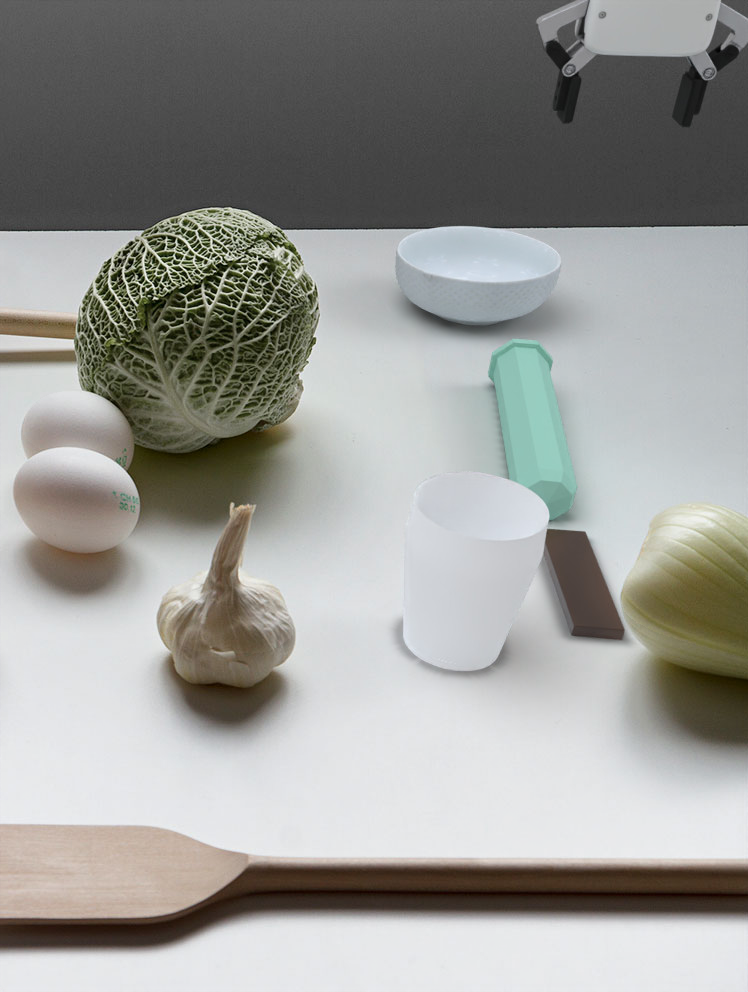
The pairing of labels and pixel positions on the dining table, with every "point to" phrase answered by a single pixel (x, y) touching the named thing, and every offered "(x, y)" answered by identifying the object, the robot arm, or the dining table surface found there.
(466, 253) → the cereal bowl
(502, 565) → the cup
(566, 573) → the walnut strip
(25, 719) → the dining table surface
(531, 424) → the container
